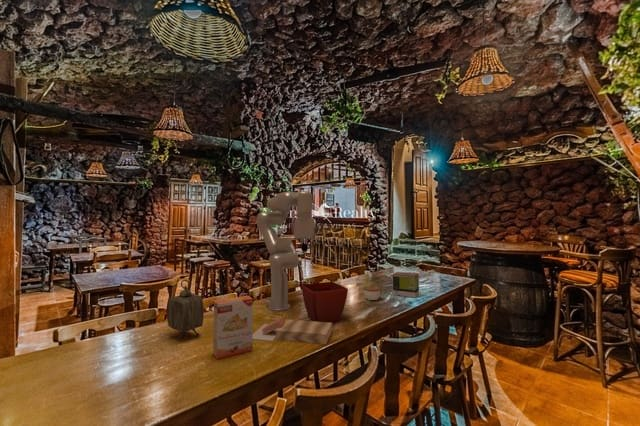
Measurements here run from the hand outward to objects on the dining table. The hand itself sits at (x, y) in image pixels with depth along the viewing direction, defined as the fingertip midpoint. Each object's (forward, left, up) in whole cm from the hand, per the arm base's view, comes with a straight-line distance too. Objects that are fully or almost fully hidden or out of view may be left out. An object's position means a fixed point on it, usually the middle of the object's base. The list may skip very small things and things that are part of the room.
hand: (304, 251), depth 152 cm
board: (+5, -18, -35) cm, 40 cm away
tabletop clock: (-47, -30, -35) cm, 66 cm away
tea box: (+54, +62, -35) cm, 90 cm away
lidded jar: (+32, +46, -35) cm, 66 cm away
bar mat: (-12, -18, -35) cm, 41 cm away
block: (-9, -19, -33) cm, 39 cm away
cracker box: (-18, -40, -35) cm, 56 cm away
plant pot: (+9, +5, -35) cm, 37 cm away
